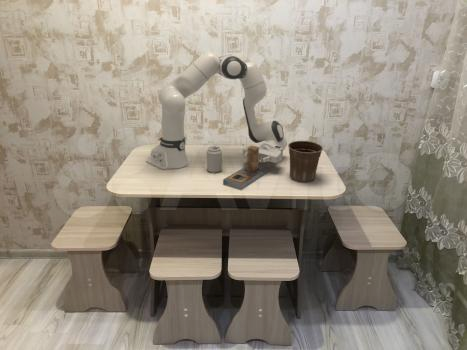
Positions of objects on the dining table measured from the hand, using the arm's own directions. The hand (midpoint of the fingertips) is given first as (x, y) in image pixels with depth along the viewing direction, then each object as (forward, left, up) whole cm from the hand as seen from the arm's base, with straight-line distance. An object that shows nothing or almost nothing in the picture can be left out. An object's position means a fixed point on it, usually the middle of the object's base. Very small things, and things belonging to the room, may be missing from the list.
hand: (254, 158), depth 193 cm
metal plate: (0, -7, -8) cm, 11 cm away
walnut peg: (0, -1, -8) cm, 8 cm away
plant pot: (+22, +10, -8) cm, 25 cm away
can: (-18, -8, -8) cm, 21 cm away
